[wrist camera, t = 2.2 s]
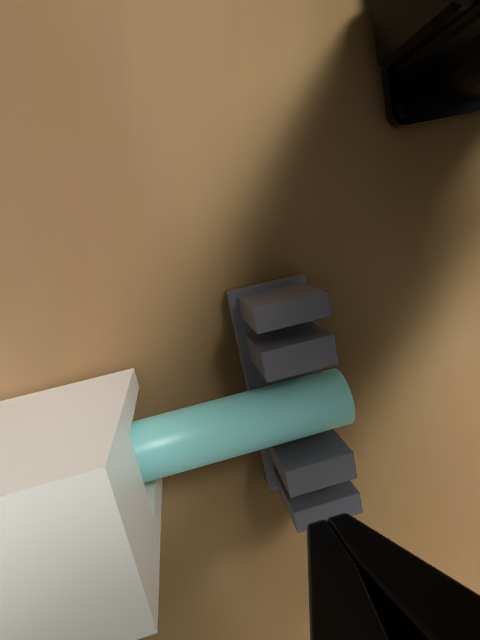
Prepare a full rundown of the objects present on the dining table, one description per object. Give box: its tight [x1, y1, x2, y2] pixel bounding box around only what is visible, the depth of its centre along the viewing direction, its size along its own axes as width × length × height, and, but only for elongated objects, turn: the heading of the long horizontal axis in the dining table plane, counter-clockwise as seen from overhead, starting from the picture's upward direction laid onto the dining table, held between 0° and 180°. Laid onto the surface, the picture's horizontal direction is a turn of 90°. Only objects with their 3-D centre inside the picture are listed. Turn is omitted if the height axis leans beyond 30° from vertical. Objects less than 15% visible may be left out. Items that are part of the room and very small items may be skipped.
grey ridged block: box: [225, 274, 362, 533], centre depth 15 cm, size 3×8×4 cm, turn 12°
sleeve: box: [0, 368, 162, 640], centre depth 12 cm, size 5×4×7 cm
